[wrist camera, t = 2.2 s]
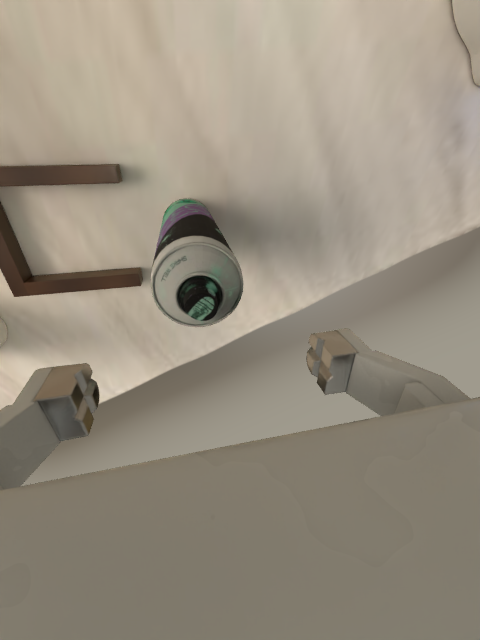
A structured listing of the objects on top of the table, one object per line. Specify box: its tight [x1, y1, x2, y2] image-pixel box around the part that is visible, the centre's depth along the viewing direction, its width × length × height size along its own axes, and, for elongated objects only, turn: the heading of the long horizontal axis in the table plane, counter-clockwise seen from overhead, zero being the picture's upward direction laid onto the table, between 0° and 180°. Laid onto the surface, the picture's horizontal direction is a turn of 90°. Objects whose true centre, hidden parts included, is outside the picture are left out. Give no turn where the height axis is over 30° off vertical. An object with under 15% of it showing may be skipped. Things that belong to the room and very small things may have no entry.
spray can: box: [150, 198, 243, 327], centre depth 22 cm, size 6×6×20 cm
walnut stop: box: [0, 164, 143, 297], centre depth 28 cm, size 13×12×2 cm
